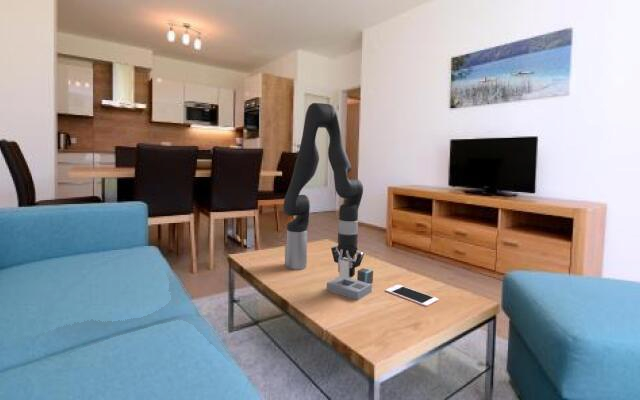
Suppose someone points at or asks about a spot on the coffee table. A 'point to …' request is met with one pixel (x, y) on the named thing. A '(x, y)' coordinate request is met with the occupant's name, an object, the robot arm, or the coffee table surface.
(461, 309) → the coffee table surface
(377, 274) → the coffee table surface
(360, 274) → the grey and blue block
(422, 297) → the cell phone
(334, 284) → the outlet
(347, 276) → the block
